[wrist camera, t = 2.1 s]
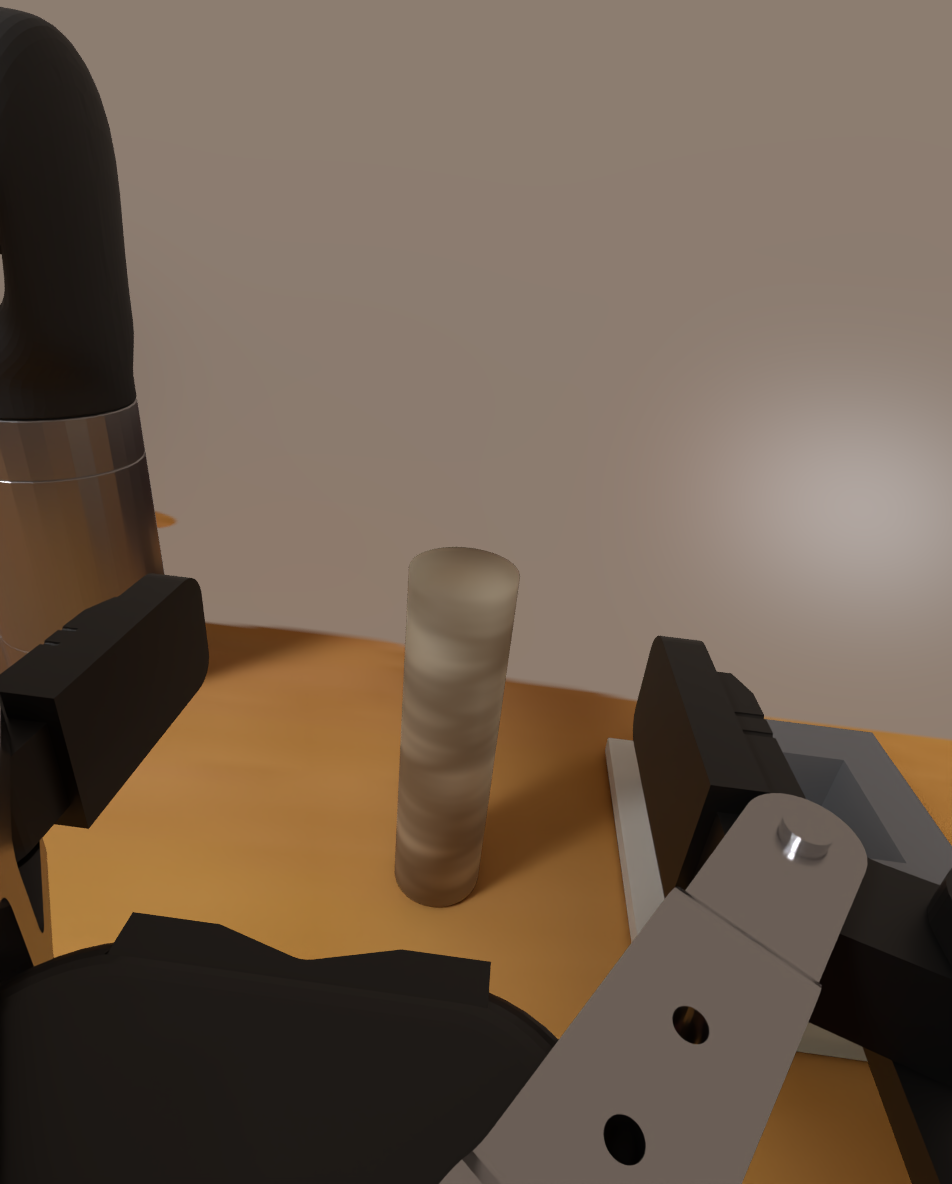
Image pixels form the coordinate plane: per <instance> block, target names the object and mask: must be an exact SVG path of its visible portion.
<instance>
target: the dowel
mask: <svg viewBox="0 0 952 1184" xmlns="http://www.w3.org/2000/svg"><path fill="white" fill-rule="evenodd" d="M519 579H520V574H519V571H518V569H517V568H516V567H515V565H514V564H512V563H511V562H510V561H508V560H507V559H505V558H503V557H501V556H499V555H497V554H494V553H491V552H487V551H484V550H479V549H473V548H465V547H446V548H438V549H433V550H429V551H426V552H424V553H421V554H419V555H417V556H416V557H415V558H414V559H413V560H412V561H411V563H410V565H409V578H408V600H407V620H406V640H405V641H406V642H405V661H404V682H403V704H402V725H401V746H400V767H399V788H398V809H397V830H396V851H395V878H396V881H397V884H398V886H399V887H400V889H401V890H402V892H403V893H404V894H405V895H406V896H407V897H409V898H410V899H411V900H413V901H415V902H417V903H419V904H422V905H425V906H430V907H445V906H449V905H453V904H455V903H458V902H459V901H461V900H463V899H464V898H465V897H467V896H468V895H469V894H470V893H471V891H472V890H473V889H474V887H475V885H476V882H477V879H478V873H479V866H480V858H481V851H482V844H483V837H484V830H485V823H486V815H487V808H488V801H489V794H490V787H491V780H492V773H493V765H494V758H495V751H496V744H497V737H498V730H499V723H500V715H501V708H502V701H503V694H504V687H505V680H506V672H507V665H508V658H509V650H510V644H511V637H512V630H513V622H514V615H515V608H516V601H517V593H518V586H519Z"/></svg>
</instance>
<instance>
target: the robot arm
mask: <svg viewBox="0 0 952 1184" xmlns="http://www.w3.org/2000/svg"><path fill="white" fill-rule="evenodd" d="M0 254H2V260H3V270H4V280H5V281H4V282H5V293H4V298H3V301H2V303H1V305H0V1184H742V1182H743V1179H744V1177H745V1174H746V1172H747V1169H748V1167H749V1165H750V1162H751V1160H752V1157H753V1155H754V1152H755V1150H756V1148H757V1145H758V1143H759V1140H760V1138H761V1136H762V1133H763V1131H764V1128H765V1126H766V1123H767V1121H768V1119H769V1116H770V1114H771V1111H772V1109H773V1106H774V1104H775V1102H776V1099H777V1097H778V1094H779V1092H780V1090H781V1087H782V1085H783V1082H784V1080H785V1077H786V1075H787V1073H788V1070H789V1068H790V1065H791V1063H792V1060H793V1058H794V1056H795V1053H796V1051H797V1048H798V1046H799V1043H800V1041H801V1039H802V1036H803V1034H804V1031H805V1029H806V1027H807V1024H808V1022H809V1023H811V1024H813V1025H816V1026H818V1027H820V1028H822V1029H824V1030H826V1031H829V1032H831V1033H833V1034H835V1035H837V1036H840V1037H842V1038H844V1039H846V1040H848V1041H851V1042H853V1043H855V1044H857V1045H859V1046H861V1047H863V1050H864V1053H865V1055H866V1058H867V1061H868V1064H869V1066H870V1069H871V1072H872V1075H873V1077H874V1080H875V1083H876V1086H877V1089H878V1091H879V1094H880V1097H881V1100H882V1102H883V1105H884V1108H885V1111H886V1113H887V1116H888V1119H889V1122H890V1124H891V1127H892V1130H893V1133H894V1135H895V1138H896V1141H897V1144H898V1147H899V1149H900V1152H901V1155H902V1158H903V1160H904V1163H905V1166H906V1169H907V1171H908V1174H909V1177H910V1180H911V1182H912V1184H952V868H951V870H950V871H949V872H948V874H947V875H946V877H945V878H944V880H943V881H942V883H941V885H938V884H936V883H933V882H930V881H927V880H925V879H922V878H919V877H917V876H914V875H911V874H908V873H906V872H903V871H900V870H897V869H895V868H892V867H889V866H887V865H884V864H881V863H879V862H877V861H874V860H872V859H870V858H868V857H867V855H866V852H865V849H864V847H863V845H862V843H861V841H860V840H859V838H858V837H857V835H856V834H855V833H854V832H853V831H852V829H851V828H850V827H849V826H848V825H847V824H846V823H845V822H843V821H842V820H841V819H840V818H839V817H837V816H836V815H834V814H833V813H832V812H830V811H829V810H827V809H825V808H824V807H822V806H820V805H818V804H816V803H814V802H812V801H809V800H806V798H805V796H804V794H803V792H802V790H801V788H800V786H799V784H798V782H797V780H796V778H795V776H794V774H793V772H792V770H791V768H790V766H789V764H788V762H787V760H786V758H785V756H784V754H783V752H782V750H781V748H780V746H779V744H778V742H777V740H776V738H773V732H772V730H771V728H770V726H769V724H768V722H767V720H765V719H764V714H763V712H762V710H761V708H760V707H759V704H758V702H757V700H756V698H755V696H754V694H753V693H752V692H751V691H749V689H747V688H746V687H745V686H744V685H743V684H742V683H741V682H740V681H739V680H738V679H737V678H736V677H734V676H733V675H732V674H731V673H723V672H716V670H715V667H714V665H713V662H712V660H711V658H710V656H709V653H708V651H707V649H706V647H705V645H704V643H703V642H702V641H697V640H689V639H681V638H673V637H665V636H657V637H656V638H655V639H654V641H653V644H652V647H651V651H650V654H649V658H648V662H647V666H646V670H645V674H644V677H643V681H642V686H641V689H640V693H639V697H638V701H637V705H636V709H635V714H634V722H633V742H634V748H635V753H636V758H637V763H638V768H639V773H640V778H641V782H642V787H643V792H644V797H645V802H646V807H647V812H648V817H649V822H650V827H651V832H652V837H653V842H654V847H655V852H656V857H657V862H658V866H659V871H660V876H661V881H662V886H663V891H664V896H665V899H664V900H663V902H662V903H661V904H660V906H659V907H658V908H657V910H656V911H655V912H654V914H653V915H652V916H651V918H650V919H649V920H648V922H647V923H646V924H645V926H644V927H643V928H642V930H641V931H640V932H639V934H638V935H637V936H636V938H635V939H634V940H633V942H632V943H631V944H630V946H629V947H628V948H627V950H626V951H625V952H624V954H623V955H622V956H621V958H620V959H619V960H618V962H617V963H616V964H615V966H614V967H613V968H612V970H611V971H610V972H609V974H608V975H607V976H606V978H605V979H604V980H603V982H602V983H601V984H600V986H599V987H598V988H597V990H596V991H595V992H594V994H593V995H592V996H591V998H590V999H589V1000H588V1002H587V1003H586V1004H585V1006H584V1007H583V1008H582V1010H581V1011H580V1012H579V1014H578V1015H577V1016H576V1018H575V1019H574V1020H573V1022H572V1023H571V1024H570V1026H569V1027H568V1028H567V1030H566V1031H565V1032H564V1034H563V1035H562V1036H561V1038H560V1039H559V1040H558V1039H557V1038H556V1037H555V1036H554V1035H553V1034H552V1033H551V1032H550V1031H549V1030H548V1029H547V1028H546V1027H545V1026H543V1025H542V1024H541V1023H539V1022H538V1021H537V1020H535V1019H534V1018H533V1017H532V1016H530V1015H529V1014H528V1013H526V1012H525V1011H523V1010H521V1009H520V1008H518V1007H516V1006H515V1005H513V1004H511V1003H510V1002H508V1001H506V1000H504V999H502V998H500V997H498V996H495V995H493V994H491V993H489V981H490V966H491V962H487V961H480V960H473V959H466V958H459V957H451V956H444V955H437V954H430V953H423V952H415V951H408V950H394V951H385V952H376V953H367V954H358V955H349V956H341V957H332V958H323V959H314V960H303V959H298V958H295V957H292V956H290V955H288V954H286V953H283V952H281V951H279V950H277V949H274V948H272V947H270V946H267V945H265V944H263V943H261V942H258V941H256V940H254V939H252V938H249V937H247V936H245V935H243V934H240V933H238V932H236V931H234V930H231V929H229V928H227V927H225V926H222V925H220V924H214V923H207V922H199V921H192V920H185V919H178V918H171V917H164V916H156V915H149V914H142V913H135V912H133V913H132V915H131V916H130V918H129V919H128V921H127V923H126V924H125V926H124V927H123V929H122V931H121V932H120V934H119V935H118V937H117V939H116V940H115V942H114V943H108V944H103V945H98V946H93V947H89V948H84V949H80V950H77V951H74V952H71V953H68V954H65V955H62V956H58V957H56V958H54V955H53V944H52V928H51V912H50V897H49V881H48V865H47V852H46V847H45V844H44V841H43V838H42V837H43V836H44V835H45V834H46V833H47V832H48V830H49V829H50V828H51V827H52V826H53V825H54V824H58V825H65V826H72V827H80V828H87V829H89V828H90V826H91V825H92V824H93V823H94V821H95V820H96V819H97V818H98V816H99V815H100V814H101V812H102V811H103V810H104V809H105V807H106V806H107V805H108V804H109V802H110V801H111V800H112V799H113V797H114V796H115V795H116V794H117V792H118V791H119V790H120V789H121V787H122V786H123V785H124V783H125V782H126V781H127V780H128V778H129V777H130V776H131V775H132V773H133V772H134V771H135V770H136V768H137V767H138V766H139V765H140V763H141V762H142V761H143V759H144V758H145V757H146V756H147V754H148V753H149V752H150V751H151V749H152V748H153V747H154V746H155V744H156V743H157V742H158V741H159V739H160V738H161V737H162V735H163V734H164V733H165V732H166V730H167V729H168V728H169V727H170V725H171V724H172V723H173V722H174V720H175V719H176V718H177V717H178V715H179V714H180V713H181V711H182V710H183V709H184V708H185V706H186V705H187V704H188V703H189V701H190V700H191V699H192V698H193V696H194V695H195V694H196V693H197V691H198V690H199V689H200V687H201V686H202V684H203V682H204V679H205V676H206V673H207V669H208V663H209V651H208V643H207V635H206V627H205V619H204V612H203V602H202V594H201V589H200V586H199V584H198V582H197V581H196V580H195V579H193V578H186V577H177V576H169V575H164V569H163V562H162V556H161V550H160V544H159V537H158V530H157V524H156V517H155V511H154V505H153V499H152V492H151V485H150V479H149V473H148V466H147V460H146V453H145V448H144V441H143V435H142V428H141V422H140V415H139V409H138V403H137V399H136V391H135V384H134V377H133V348H134V345H133V344H134V331H133V319H132V311H131V303H130V295H129V287H128V278H127V268H126V259H125V248H124V236H123V225H122V214H121V202H120V192H119V183H118V175H117V167H116V160H115V154H114V148H113V143H112V138H111V133H110V128H109V124H108V121H107V117H106V114H105V111H104V107H103V104H102V101H101V98H100V95H99V93H98V90H97V88H96V85H95V83H94V81H93V79H92V77H91V75H90V72H89V70H88V68H87V66H86V64H85V63H84V61H83V60H82V58H81V57H80V55H79V54H78V52H77V51H76V49H75V48H74V46H73V45H72V44H71V42H70V41H69V40H68V39H67V38H66V37H65V36H64V35H63V34H62V33H61V32H60V31H59V30H58V29H57V28H56V27H54V26H53V25H51V24H50V23H48V22H47V21H45V20H43V19H42V18H40V17H38V16H35V15H33V14H30V13H26V12H23V11H18V10H14V9H9V8H3V7H0Z"/></svg>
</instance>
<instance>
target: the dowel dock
mask: <svg viewBox="0 0 952 1184" xmlns="http://www.w3.org/2000/svg"><path fill="white" fill-rule="evenodd" d="M765 720H767V719H765ZM767 722H768V724H769V726H770V728H771V730H772V732H773V738H776V740H777V742H778V744H779V746H780V748H781V750H782V752H783V754H784V756H785V758H786V760H787V762H788V764H789V766H790V768H791V770H792V772H793V774H794V776H795V778H796V780H797V782H798V784H799V786H800V788H801V790H802V792H803V794H804V796H805V798H806V800H809V801H812V802H814V803H816V804H818V805H820V806H822V807H824V808H825V809H827V810H829V811H830V812H832V813H833V814H834V815H836V816H837V817H839V818H840V819H841V820H842V821H843V822H845V823H846V824H847V825H848V826H849V827H850V828H851V829H852V831H853V832H854V833H855V834H856V835H857V837H858V838H859V840H860V841H861V843H862V845H863V847H864V849H865V852H866V855H867V857H868V858H870V859H872V860H874V861H877V862H879V863H881V864H884V865H887V866H889V867H892V868H895V869H897V870H900V871H903V872H906V873H908V874H911V875H914V876H917V877H919V878H922V879H925V880H927V881H930V882H933V883H936V884H938V885H941V883H942V881H943V880H944V878H945V877H946V875H947V874H948V872H949V871H950V870H951V868H952V846H951V845H950V843H949V842H948V840H947V839H946V837H945V836H944V835H943V833H942V832H941V830H940V829H939V827H938V826H937V825H936V823H935V822H934V820H933V819H932V817H931V816H930V815H929V813H928V812H927V810H926V809H925V807H924V806H923V805H922V803H921V802H920V800H919V799H918V797H917V796H916V795H915V793H914V792H913V790H912V789H911V788H910V786H909V785H908V783H907V782H906V780H905V779H904V778H903V776H902V775H901V773H900V772H899V770H898V769H897V768H896V766H895V765H894V763H893V762H892V760H891V759H890V758H889V756H888V755H887V753H886V752H885V750H884V749H883V748H882V746H881V745H880V743H879V742H878V740H877V739H876V738H875V736H874V735H873V733H871V732H863V731H855V730H847V729H839V728H831V727H823V726H815V725H807V724H799V723H791V722H783V721H775V720H767ZM605 753H606V761H607V768H608V775H609V783H610V790H611V797H612V804H613V812H614V819H615V826H616V834H617V841H618V848H619V855H620V863H621V870H622V877H623V885H624V892H625V899H626V906H627V914H628V921H629V928H630V936H631V943H632V942H633V940H634V939H635V938H636V936H637V935H638V934H639V932H640V931H641V930H642V928H643V927H644V926H645V924H646V923H647V922H648V920H649V919H650V918H651V916H652V915H653V914H654V912H655V911H656V910H657V908H658V907H659V906H660V904H661V903H662V902H663V900H664V899H665V896H664V891H663V886H662V881H661V876H660V871H659V866H658V862H657V857H656V852H655V847H654V842H653V837H652V832H651V827H650V822H649V817H648V812H647V807H646V802H645V797H644V792H643V787H642V782H641V778H640V773H639V768H638V763H637V758H636V753H635V748H634V742H633V741H631V740H623V739H615V738H608V740H607V744H606V748H605ZM797 1051H798V1052H805V1053H812V1054H819V1055H826V1056H833V1057H840V1058H847V1059H854V1060H861V1061H867V1058H866V1055H865V1053H864V1050H863V1047H861V1046H859V1045H857V1044H855V1043H853V1042H851V1041H848V1040H846V1039H844V1038H842V1037H840V1036H837V1035H835V1034H833V1033H831V1032H829V1031H826V1030H824V1029H822V1028H820V1027H818V1026H816V1025H813V1024H811V1023H809V1022H808V1024H807V1027H806V1029H805V1031H804V1034H803V1036H802V1039H801V1041H800V1043H799V1046H798V1048H797Z"/></svg>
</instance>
